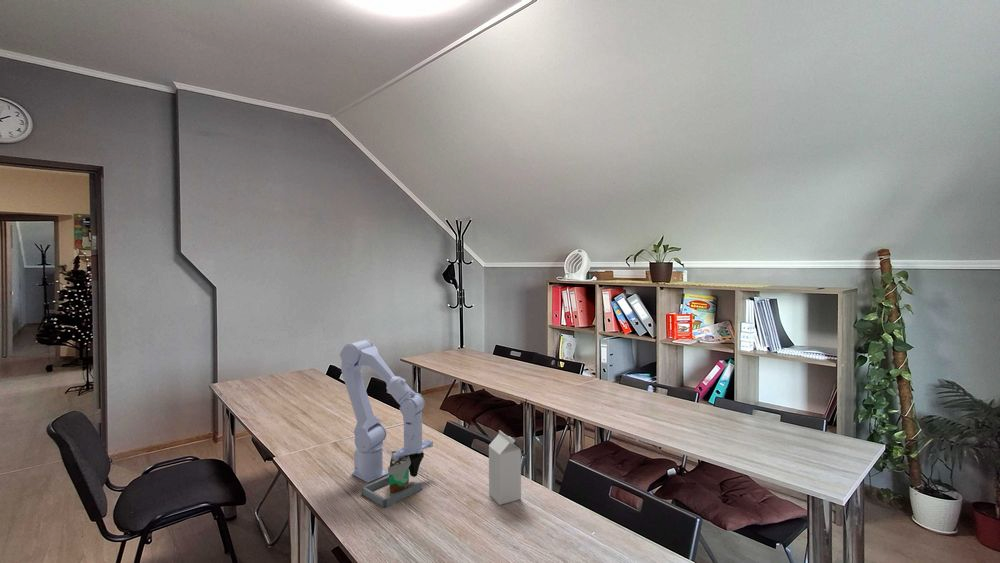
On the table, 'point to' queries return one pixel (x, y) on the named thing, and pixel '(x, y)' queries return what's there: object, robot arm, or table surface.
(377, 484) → the u-shaped bracket
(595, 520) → the table surface
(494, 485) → the milk carton
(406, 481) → the food container
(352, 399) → the robot arm
